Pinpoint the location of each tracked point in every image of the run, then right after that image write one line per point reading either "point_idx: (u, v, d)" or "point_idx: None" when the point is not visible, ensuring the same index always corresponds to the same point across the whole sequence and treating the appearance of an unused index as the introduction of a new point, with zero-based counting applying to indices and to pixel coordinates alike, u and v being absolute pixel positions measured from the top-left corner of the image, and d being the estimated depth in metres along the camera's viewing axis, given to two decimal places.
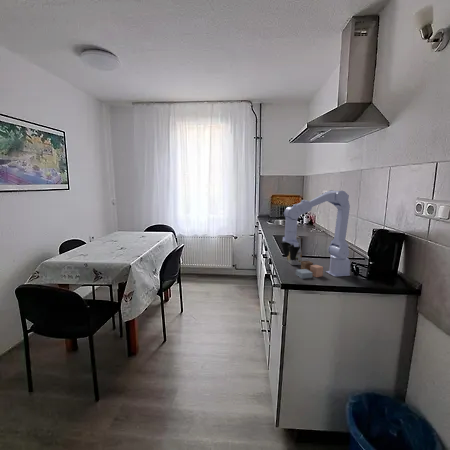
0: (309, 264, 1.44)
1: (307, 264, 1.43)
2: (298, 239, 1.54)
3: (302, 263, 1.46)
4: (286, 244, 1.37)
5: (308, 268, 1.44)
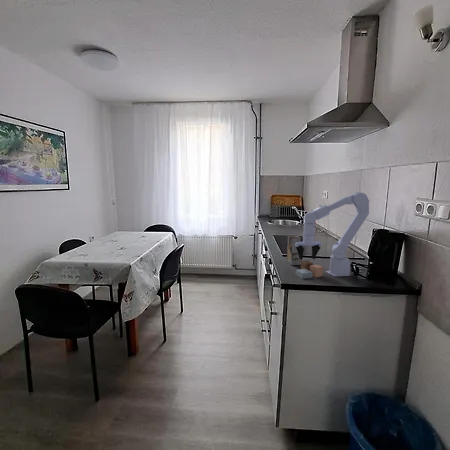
0: (309, 264, 1.44)
1: (307, 264, 1.43)
2: (298, 239, 1.54)
3: (302, 263, 1.46)
4: (313, 247, 1.46)
5: (308, 268, 1.44)
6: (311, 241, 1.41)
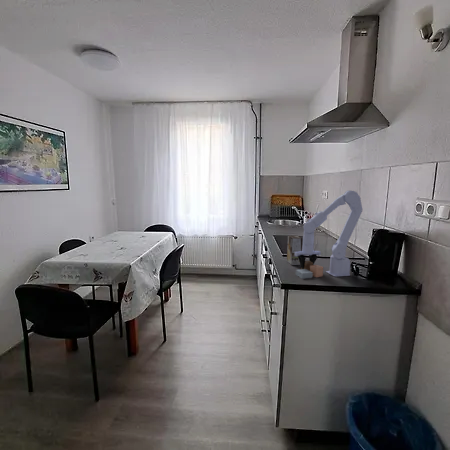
0: (309, 264, 1.44)
1: (307, 264, 1.43)
2: (298, 239, 1.54)
3: None
4: (311, 257, 1.46)
5: (308, 268, 1.44)
6: (310, 250, 1.42)
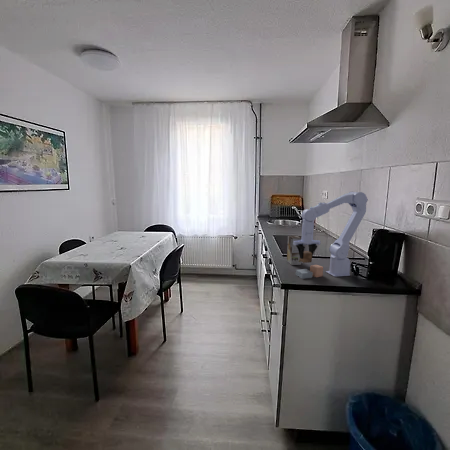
0: (308, 254, 1.38)
1: (306, 254, 1.37)
2: (298, 239, 1.54)
3: None
4: (310, 246, 1.40)
5: (307, 258, 1.38)
6: (310, 239, 1.36)
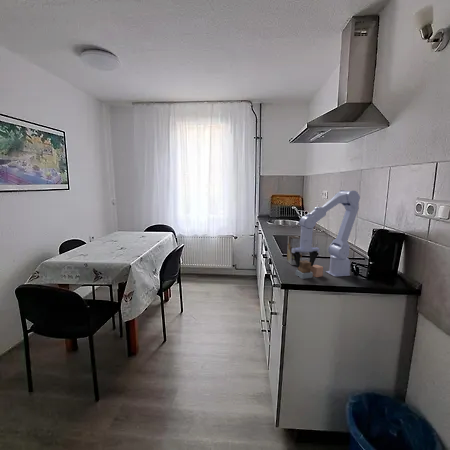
0: (307, 264, 1.34)
1: (305, 264, 1.34)
2: (298, 239, 1.54)
3: None
4: (311, 254, 1.37)
5: (306, 268, 1.35)
6: (309, 247, 1.32)
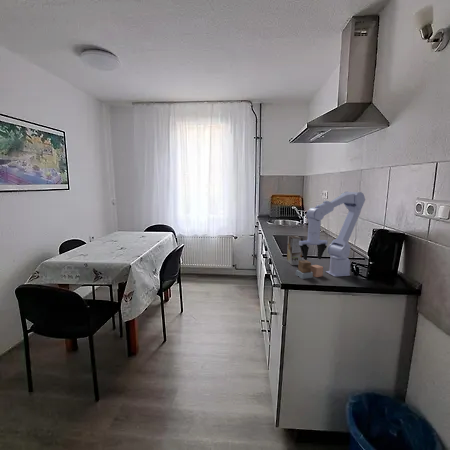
0: (307, 264, 1.34)
1: (305, 264, 1.34)
2: (298, 239, 1.54)
3: (299, 263, 1.37)
4: (319, 246, 1.34)
5: (306, 268, 1.34)
6: (316, 239, 1.29)
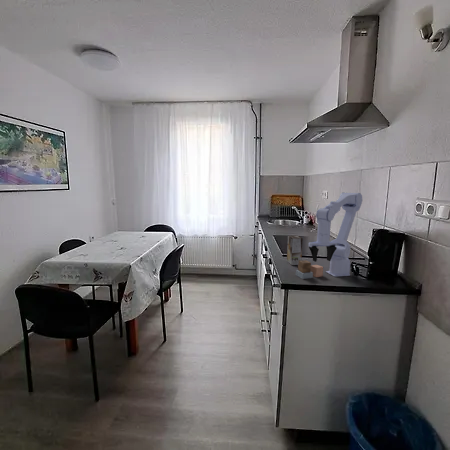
0: (307, 264, 1.34)
1: (305, 264, 1.34)
2: (298, 239, 1.54)
3: (299, 263, 1.37)
4: (328, 248, 1.30)
5: (306, 268, 1.34)
6: (326, 241, 1.26)
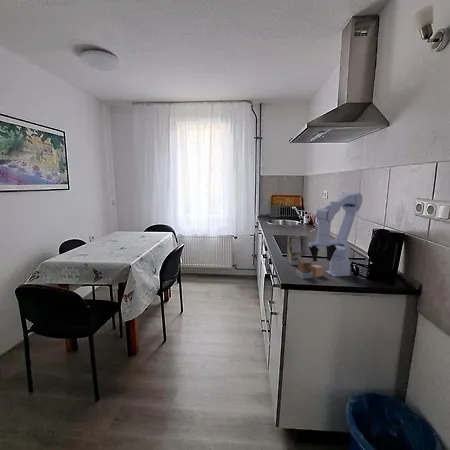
0: (307, 264, 1.34)
1: (305, 264, 1.34)
2: (298, 239, 1.54)
3: (299, 263, 1.36)
4: (328, 248, 1.30)
5: (306, 268, 1.34)
6: (326, 241, 1.26)
